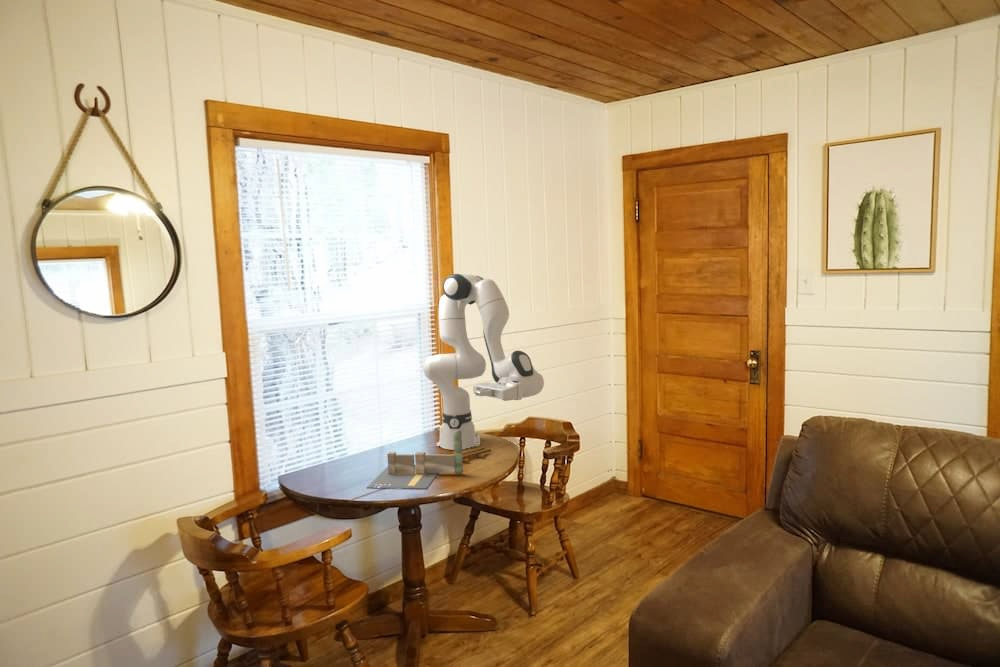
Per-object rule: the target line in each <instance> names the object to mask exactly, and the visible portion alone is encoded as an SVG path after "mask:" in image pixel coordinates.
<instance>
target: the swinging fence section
mask: <svg viewBox="0 0 1000 667" xmlns="http://www.w3.org/2000/svg"><path fill="white" fill-rule="evenodd" d="M453 442H454V450H453V454H440V453H439V454H437V453H436V454H433V453H432V454H428V453H426V451H417V452H416V453H415V454H414V463H415V465H416V474H424V473H438V474H446V473H447V474H457V475H459V474H463V473H464V464H463V463H464V462H463V456H462V452H463V449H462V433H461V430H454V431H453Z"/></svg>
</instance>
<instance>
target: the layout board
mask: <svg viewBox="0 0 1000 667" xmlns="http://www.w3.org/2000/svg"><path fill="white" fill-rule="evenodd" d="M438 474H439V473H424V474H416V464H415V473H395V474H388V466H386V467H385V469H383V471H382V472H380V473H379V475H378V476H377V477H375V479H374V480H372V481H371V482H370V483H369V484H368V485H367V486H366V489H367V488H374V487H375V486H376V487H375V488H377V487H378V486H381V487H380V488H402V489H401V490H428V488H429V486H430V485H431V484H432V483H433V481H434V480H435V478H436V477H437V476H438ZM375 484H377V485H378V486H377V485H375ZM379 484H382V485H383V486H382V485H379ZM384 484H386V485H384ZM389 484H391V485H390V486H388V485H389Z"/></svg>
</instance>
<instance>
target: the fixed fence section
mask: <svg viewBox="0 0 1000 667" xmlns="http://www.w3.org/2000/svg"><path fill="white" fill-rule="evenodd" d="M386 454H387V467H388V474H395V473H415V465H416V463H415V454H414V453H413V454H408V453H406V454H403V453H402V454H397V452H396V451H389V452H388V453H386Z"/></svg>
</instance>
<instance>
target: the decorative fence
mask: <svg viewBox="0 0 1000 667" xmlns="http://www.w3.org/2000/svg"><path fill="white" fill-rule="evenodd" d="M490 452H492V448H486V447H484V446H480V447H478V448H477V447H476V448H473V449H470V450H466V451H462V456H463V463H466V464H470V459H469V458H470V457H471V458H472V457H474V456H477V457H476V458H478V457H482V458H481V459H485V458H486V455H485V454H486V453H490ZM484 457H485V458H484Z"/></svg>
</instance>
